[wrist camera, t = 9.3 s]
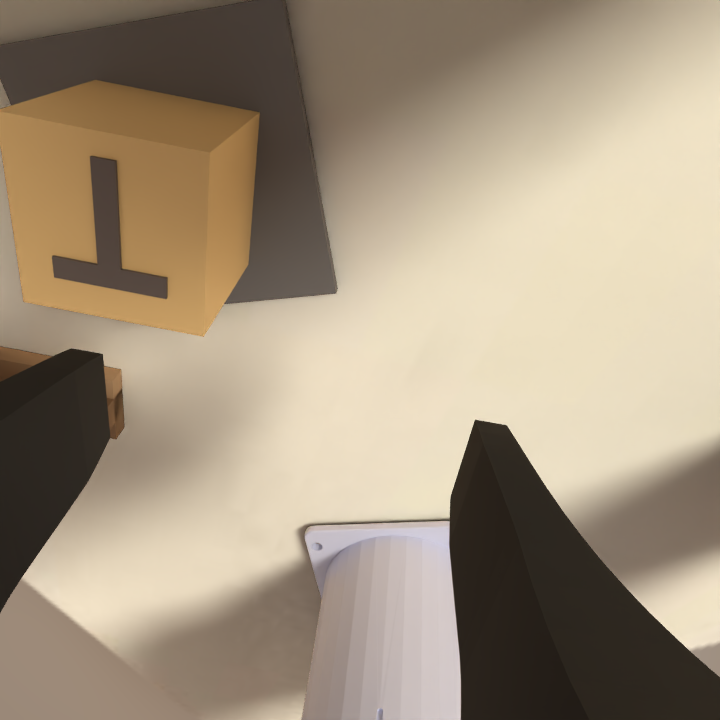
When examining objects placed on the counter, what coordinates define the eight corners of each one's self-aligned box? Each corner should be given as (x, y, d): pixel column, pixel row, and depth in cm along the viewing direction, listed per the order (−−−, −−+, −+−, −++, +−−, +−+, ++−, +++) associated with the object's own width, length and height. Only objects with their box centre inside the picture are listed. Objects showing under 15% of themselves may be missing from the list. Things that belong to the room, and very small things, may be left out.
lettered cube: (248, 266, 21) (202, 341, 17) (105, 239, 21) (22, 306, 17) (259, 112, 18) (208, 153, 14) (95, 79, 18) (-8, 111, 14)
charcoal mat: (337, 288, 22) (336, 293, 21) (103, 310, 23) (98, 316, 23) (284, -5, 17) (281, -5, 17) (-5, 46, 18) (-13, 47, 18)
